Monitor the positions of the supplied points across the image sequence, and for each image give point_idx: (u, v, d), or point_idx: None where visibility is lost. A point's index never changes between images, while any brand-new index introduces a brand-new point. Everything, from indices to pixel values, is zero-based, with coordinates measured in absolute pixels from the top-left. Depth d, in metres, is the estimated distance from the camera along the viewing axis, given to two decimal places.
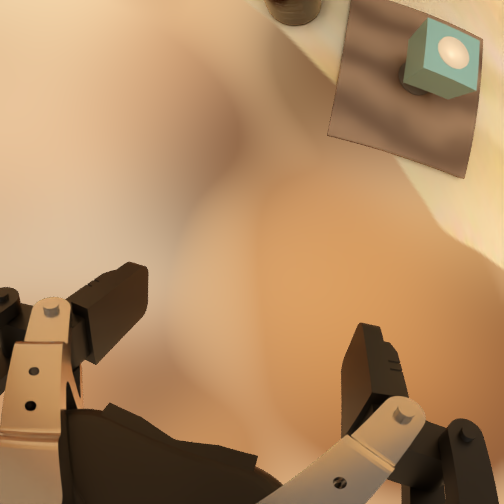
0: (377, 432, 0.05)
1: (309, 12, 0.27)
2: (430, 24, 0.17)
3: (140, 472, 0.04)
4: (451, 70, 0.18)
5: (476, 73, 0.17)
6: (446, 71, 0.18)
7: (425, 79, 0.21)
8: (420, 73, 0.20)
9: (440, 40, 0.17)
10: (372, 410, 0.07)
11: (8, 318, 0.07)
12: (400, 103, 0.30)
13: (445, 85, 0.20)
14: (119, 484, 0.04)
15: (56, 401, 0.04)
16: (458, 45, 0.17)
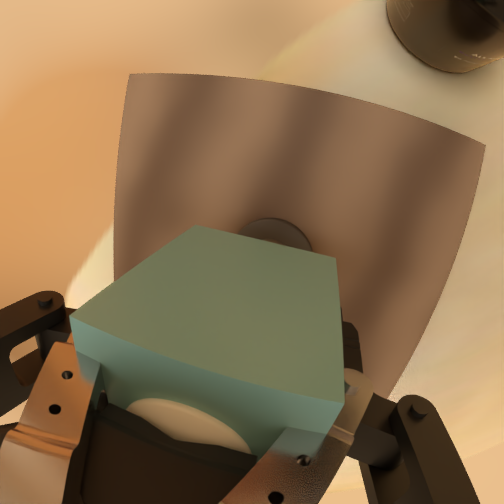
0: None
1: (413, 24, 0.10)
2: (301, 406, 0.05)
3: (140, 472, 0.04)
4: None
5: None
6: None
7: None
8: None
9: (214, 425, 0.05)
10: None
11: (54, 323, 0.07)
12: (206, 218, 0.17)
13: None
14: (119, 484, 0.04)
15: (83, 409, 0.04)
16: None
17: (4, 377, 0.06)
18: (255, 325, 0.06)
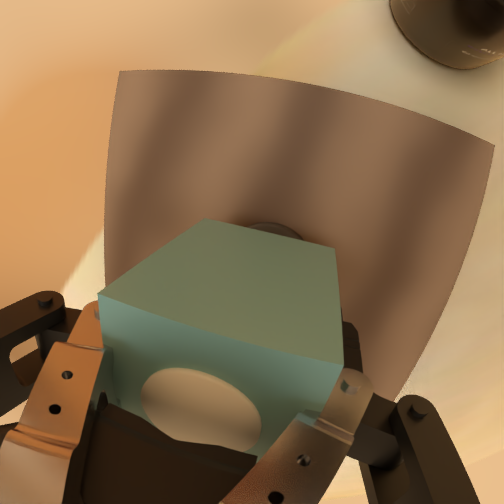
0: None
1: (418, 16, 0.09)
2: (306, 368, 0.06)
3: (140, 472, 0.04)
4: (131, 388, 0.07)
5: None
6: (121, 371, 0.07)
7: None
8: None
9: (228, 389, 0.06)
10: None
11: (54, 323, 0.07)
12: None
13: None
14: (119, 484, 0.04)
15: (83, 409, 0.04)
16: (231, 438, 0.07)
17: (4, 377, 0.06)
18: (264, 301, 0.07)
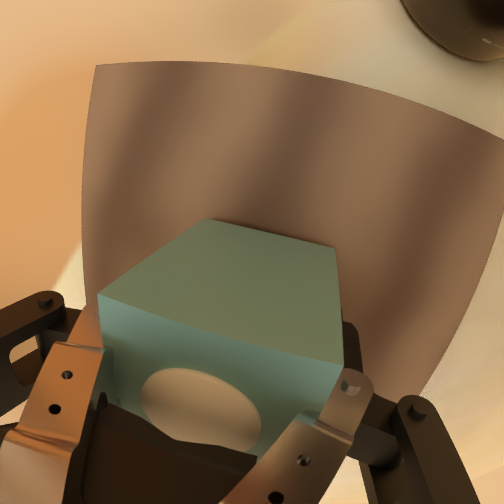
0: None
1: None
2: (306, 369, 0.06)
3: (140, 472, 0.04)
4: (131, 388, 0.07)
5: None
6: (121, 372, 0.07)
7: None
8: None
9: (228, 390, 0.06)
10: None
11: (54, 323, 0.07)
12: None
13: None
14: (119, 484, 0.04)
15: (83, 409, 0.04)
16: (231, 438, 0.06)
17: (4, 377, 0.06)
18: (264, 302, 0.07)
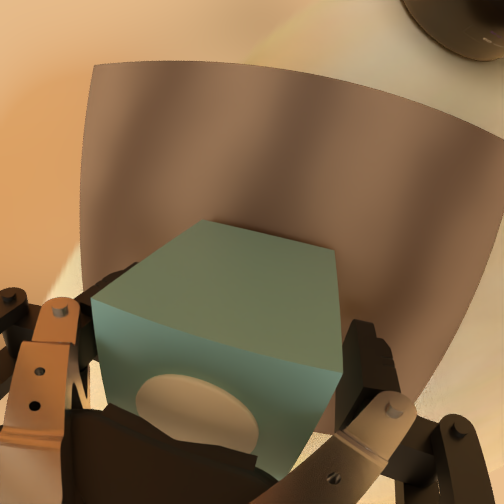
0: (367, 426, 0.06)
1: None
2: (304, 376, 0.05)
3: (140, 472, 0.04)
4: (126, 394, 0.07)
5: None
6: (116, 377, 0.07)
7: None
8: None
9: (224, 397, 0.06)
10: (364, 405, 0.07)
11: (16, 318, 0.07)
12: None
13: None
14: (119, 484, 0.04)
15: (61, 402, 0.04)
16: (228, 445, 0.06)
17: None
18: (261, 306, 0.07)
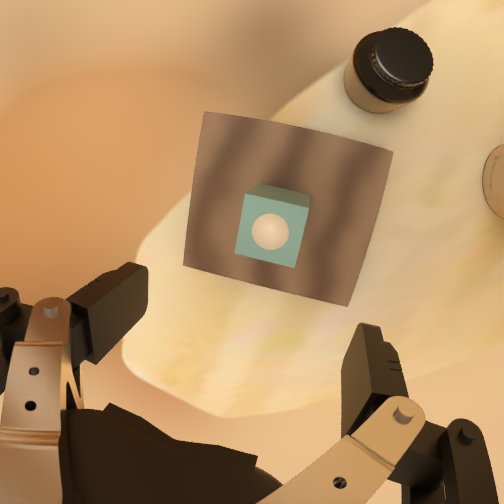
0: (377, 432, 0.05)
1: (352, 93, 0.26)
2: (300, 209, 0.24)
3: (140, 472, 0.04)
4: (248, 225, 0.25)
5: (253, 256, 0.26)
6: (246, 219, 0.25)
7: None
8: None
9: (280, 217, 0.25)
10: (372, 410, 0.07)
11: (8, 318, 0.07)
12: (247, 190, 0.32)
13: None
14: (120, 484, 0.04)
15: (56, 401, 0.04)
16: (279, 239, 0.25)
17: None
18: (288, 199, 0.26)
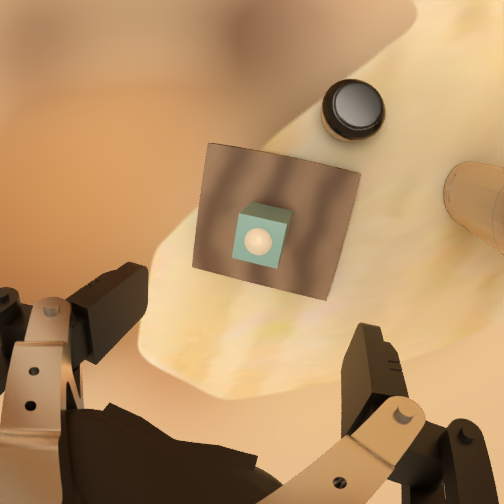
0: (377, 432, 0.05)
1: (326, 128, 0.34)
2: (280, 225, 0.33)
3: (140, 472, 0.04)
4: (242, 237, 0.34)
5: (246, 259, 0.35)
6: (240, 232, 0.34)
7: None
8: None
9: (265, 231, 0.33)
10: (372, 410, 0.07)
11: (8, 318, 0.07)
12: (243, 207, 0.41)
13: None
14: (119, 485, 0.04)
15: (56, 401, 0.04)
16: (265, 247, 0.34)
17: None
18: (272, 216, 0.34)
